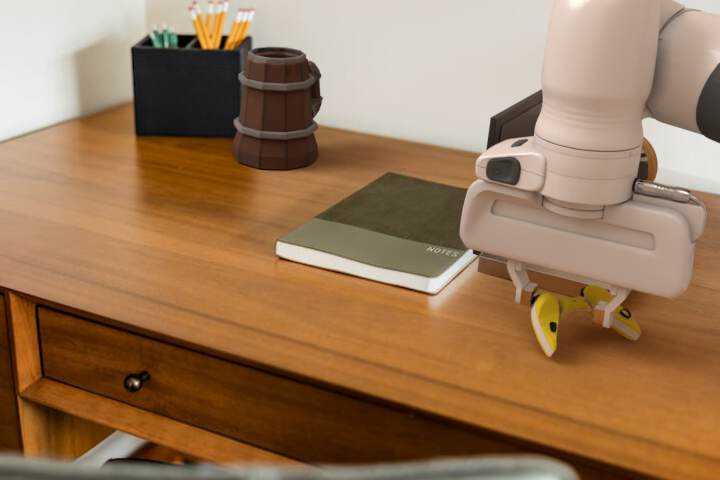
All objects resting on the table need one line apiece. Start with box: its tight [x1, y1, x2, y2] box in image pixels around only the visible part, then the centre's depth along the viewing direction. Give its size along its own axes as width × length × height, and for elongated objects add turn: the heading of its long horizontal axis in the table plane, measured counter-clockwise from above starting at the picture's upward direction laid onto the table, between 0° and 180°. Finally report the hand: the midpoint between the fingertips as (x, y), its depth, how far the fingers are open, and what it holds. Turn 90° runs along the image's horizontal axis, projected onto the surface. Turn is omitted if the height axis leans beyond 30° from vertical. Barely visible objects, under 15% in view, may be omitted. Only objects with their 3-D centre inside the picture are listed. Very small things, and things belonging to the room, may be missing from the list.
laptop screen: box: [472, 88, 543, 256], centre depth 103 cm, size 15×26×1 cm
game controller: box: [530, 285, 642, 358], centre depth 83 cm, size 10×6×4 cm, turn 115°
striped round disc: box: [637, 135, 659, 182], centre depth 117 cm, size 9×4×10 cm, turn 51°
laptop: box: [477, 252, 614, 298], centre depth 103 cm, size 15×26×2 cm, turn 150°
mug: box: [232, 46, 324, 171], centre depth 127 cm, size 16×12×15 cm
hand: (562, 313), depth 81 cm, fingers closed on game controller, 6 cm apart
